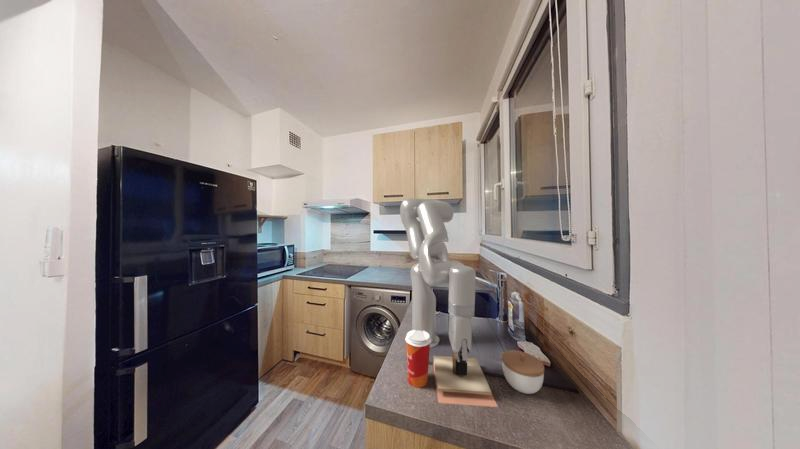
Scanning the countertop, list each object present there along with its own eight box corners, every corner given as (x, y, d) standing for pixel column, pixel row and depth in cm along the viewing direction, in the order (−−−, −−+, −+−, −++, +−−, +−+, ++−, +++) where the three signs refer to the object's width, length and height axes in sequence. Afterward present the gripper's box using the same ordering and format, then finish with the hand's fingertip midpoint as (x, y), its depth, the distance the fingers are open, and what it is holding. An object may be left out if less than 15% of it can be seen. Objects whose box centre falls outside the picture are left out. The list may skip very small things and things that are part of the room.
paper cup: (406, 371, 68) (407, 327, 69) (431, 375, 67) (432, 330, 67) (402, 390, 61) (403, 340, 61) (429, 394, 59) (430, 343, 59)
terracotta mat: (432, 363, 73) (432, 361, 73) (478, 366, 72) (478, 364, 72) (438, 405, 56) (438, 402, 56) (497, 409, 55) (497, 406, 55)
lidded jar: (551, 405, 56) (552, 369, 56) (507, 398, 58) (507, 363, 59) (534, 377, 67) (535, 347, 67) (497, 372, 69) (498, 342, 69)
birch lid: (433, 358, 72) (434, 337, 72) (476, 361, 71) (477, 340, 71) (438, 390, 58) (438, 365, 58) (491, 395, 57) (492, 369, 57)
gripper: (444, 297, 73) (443, 351, 73) (453, 320, 56) (451, 389, 56) (467, 298, 72) (465, 352, 73) (482, 321, 56) (480, 391, 56)
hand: (459, 368), depth 65 cm, fingers closed on birch lid, 4 cm apart
